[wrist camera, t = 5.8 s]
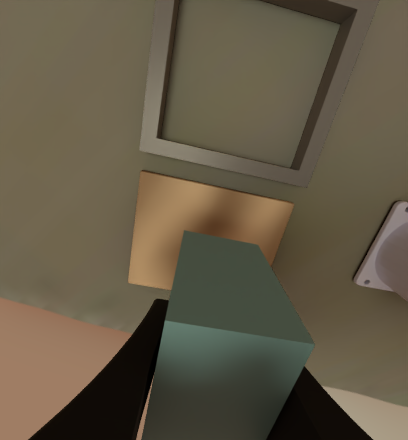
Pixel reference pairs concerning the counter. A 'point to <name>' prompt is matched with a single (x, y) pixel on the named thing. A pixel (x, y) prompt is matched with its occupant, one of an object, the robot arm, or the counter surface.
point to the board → (197, 223)
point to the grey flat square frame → (319, 115)
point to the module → (224, 346)
